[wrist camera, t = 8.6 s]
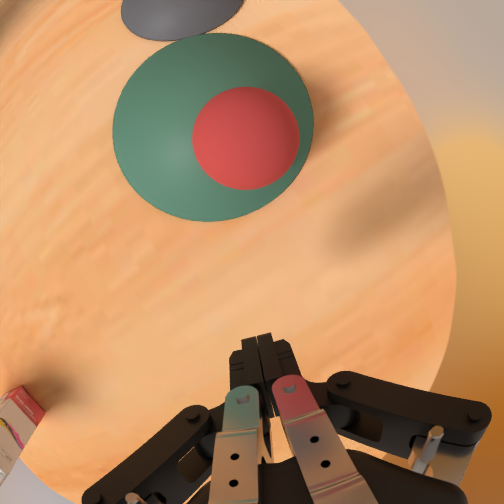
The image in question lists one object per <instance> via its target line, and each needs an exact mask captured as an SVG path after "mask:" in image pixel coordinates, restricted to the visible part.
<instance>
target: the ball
mask: <svg viewBox="0 0 504 504" xmlns="http://www.w3.org/2000/svg"><path fill="white" fill-rule="evenodd" d="M299 138H300V137H299V128H298V124H297V121H296V119H295V116H294V115H293V113H292V111H291V110H290V108H289V107H288V106H287V104H286V103H285V102H284V101H282V100H281V99H280V98H279V97H277V96H276V95H274V94H273V93H271V92H269V91H266V90H263V89H260V88H255V87H236V88H232V89H229V90H226V91H224V92H221V93H219V94H218V95H216V96H215V97H213V98H212V99H211V100H210V101H208V102H207V103H206V104H205V106H204V107H203V108H202V110H201V111H200V112H199V114H198V116H197V118H196V120H195V124H194V127H193V133H192V144H193V150H194V153H195V157H196V159H197V161H198V163H199V164H200V166H201V167H202V169H203V170H204V171H205V172H206V174H207V175H208V176H210V177H211V178H212V179H213V180H215V181H216V182H218V183H220V184H222V185H224V186H226V187H230V188H233V189H239V190H252V189H258V188H262V187H265V186H267V185H269V184H271V183H273V182H275V181H276V180H278V179H279V178H281V177H282V176H283V175H284V174H285V173H286V172H287V171H288V169H289V168H290V167H291V165H292V164H293V162H294V160H295V158H296V155H297V152H298V148H299Z"/></svg>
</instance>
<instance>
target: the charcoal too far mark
mask: <svg viewBox="0 0 504 504" xmlns="http://www.w3.org/2000/svg"><path fill="white" fill-rule="evenodd" d="M242 2H243V0H123V2H122V6H121V16H122V20H123V22H124V24H125V25H126V27H127V28H128V29H129V30H130V31H131V32H132V33H134V34H135V35H137V36H139V37H142V38H145V39H149V40H155V41H176V40H181V39H184V38H188V37H191V36H196V35H201V34H204V33H206V32H209V31H211V30H213V29H215V28H217V27H218V26H220V25H222V24H223V23H225V22H226V21H227V20H229V19H230V18H231V17H232V16H233V15H234V14H235V13H236V12H237V10H238V9H239V8H240V6H241V4H242Z"/></svg>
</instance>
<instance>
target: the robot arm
mask: <svg viewBox="0 0 504 504" xmlns="http://www.w3.org/2000/svg"><path fill="white" fill-rule="evenodd" d="M257 340H258V343H257ZM241 342H242V350H237V351H233V353H232V354H231V356H230V358H229V365H230V366H229V367H230V392H229V393H228V394H227V395H226V398H225V402H224V403H223V404H221V405H220V406H217V407H215V408H213V409H210V410H208V409H207V408H206V407H204V406H201V405H193V406H189V407H187V408H185V409H183V410H182V411H181V412H180V413H179V414H178V415H176V416H175V417H174V418H173V419H172V420H171V421H170V422H169V423H168V424H166V425H165V426H164V427H163V428H162V429H161V430H160V431H158V432H157V433H156V434H155V435H154V436H153V437H152V438H150V439H149V440H148V441H147V442H146V443H145V444H143V445H142V446H141V447H140V448H139V449H137V450H136V451H135V452H134V453H133V454H131V455H130V456H129V457H128V458H127V459H125V460H124V461H123V462H122V463H120V464H119V465H118V466H117V467H115V468H114V469H113V470H112V471H110V472H109V473H108V474H107V475H105V476H104V477H103V478H101V479H100V480H99V481H97V482H96V483H95V484H94V485H92V486H91V487H90V488H88V489H87V490H86V491H85V492H84V494H83V496H82V504H183V503H184V502H185V501H186V500H187V499H188V498H189V497H190V496H191V495H192V494H193V493H194V492H195V491H196V490H197V489H198V488H199V487H200V486H201V485H202V484H203V483H204V482H205V481H206V480H207V479H208V477H209V476H210V475H211V480H210V481H209V482H208V483H206V484H205V485H204V486H203V487H202V488H201V489H200V490H199V491H198V492H197V493H196V494H195V495H194V496H193V497H192V498H191V499H190V500H189V502H188V503H187V504H468V501H467V498H466V496H465V494H464V492H463V491H462V490H461V489H460V488H459V485H460V482H461V480H462V478H463V476H464V473H465V471H466V469H467V466H468V464H469V461H470V459H471V456H472V453H473V451H474V450H475V448H476V446H477V445H478V443H479V441H480V439H481V438H482V436H483V434H484V432H485V430H486V429H487V427H488V425H489V423H490V421H491V417H492V414H491V410H490V408H489V407H488V406H487V405H486V404H484V403H482V402H478V401H472V400H467V399H461V398H456V397H451V396H446V395H441V394H436V393H432V392H427V391H423V390H419V389H415V388H410V387H406V386H402V385H398V384H395V383H391V382H387V381H383V380H380V379H376V378H372V377H369V376H365V375H362V374H359V373H355V372H352V371H341V372H337V373H335V374H333V375H332V376H330V377H329V379H328V380H327V382H323V383H313V382H309V381H307V380H305V379H304V378H303V377H302V375H301V373H300V370H299V367H298V364H297V362H296V359H295V356H294V354H293V351H292V348H291V346H290V343H288V342H287V341H285V340H284V339H282V340H279V341H275V342H273V338H272V335H271V332H270V333H266V334H262V335H258V336H257V339H256V336H254V337H250V338H246V339H242V340H241ZM271 402H272V403H271ZM272 405H273V407H272ZM273 409H274V412H275V415H276V417H277V416H280V419H281V423H282V426H283V430H284V433H285V435H286V438H287V441H288V444H289V447H290V450H291V453H292V455H293V457H292V458H290V459H288V460H285V461H283V462H280V463H274V457H273V444H272V432H271V429H270V427H271V424H270V419H269V418H273V417H274V412H273ZM338 434H339V435H342V436H344V437H347V438H349V439H351V440H354V441H357V442H359V443H362V444H364V445H367V446H370V447H372V448H375V449H378V450H381V451H384V452H387V453H390V454H393V455H396V456H399V457H402V458H405V459H408V464H409V466H410V468H411V469H412V470H413V471H411V470H408V469H405V468H402V467H400V466H397V465H394V464H392V463H389V462H387V461H384V460H381V459H379V458H376V457H374V456H372V455H369V454H367V453H364V452H361V451H357V450H350V449H345V447H344V446H343V444H342V442H341V440H340V438H339V436H338ZM193 447H194V448H193ZM192 448H193V449H192ZM191 449H192V450H191ZM190 450H191V451H190ZM189 451H190V452H189ZM188 452H189V453H188ZM187 453H188V454H187ZM186 454H187V455H186ZM182 457H183V458H182ZM181 458H182V459H181ZM180 459H181V460H180ZM179 460H180V461H179Z"/></svg>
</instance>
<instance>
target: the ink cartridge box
mask: <svg viewBox="0 0 504 504" xmlns="http://www.w3.org/2000/svg"><path fill="white" fill-rule="evenodd" d="M44 415H45V412H44V411H43V410H42V409H41V408H40V407H39V406H38V405H37V403H36V402H35V401H34V400H33V399H32V398H31V397H30V395H29V394H28V393H27V392H26V391H25V389H24V388H23V387H22V386H19V387H18V388H16V389H14V390H12V391H10V392H8V393H6V394H5V395H3V396H1V397H0V486H1V484H2V483H3V481H4V480H5V479H6V477H7V476H8V475H9V473H10V471H11V469H12V468H13V466H14V464H15V462H16V460H17V459H18V457H19V455H20V454H21V452H22V450H23V449H24V447H25V445H26V444H27V442H28V440H29V439H30V437H31V436H32V434H33V432H34V431H35V429H36V428H37V426H38V424H39V423H40V421H41V420H42V418H43V416H44Z"/></svg>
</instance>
